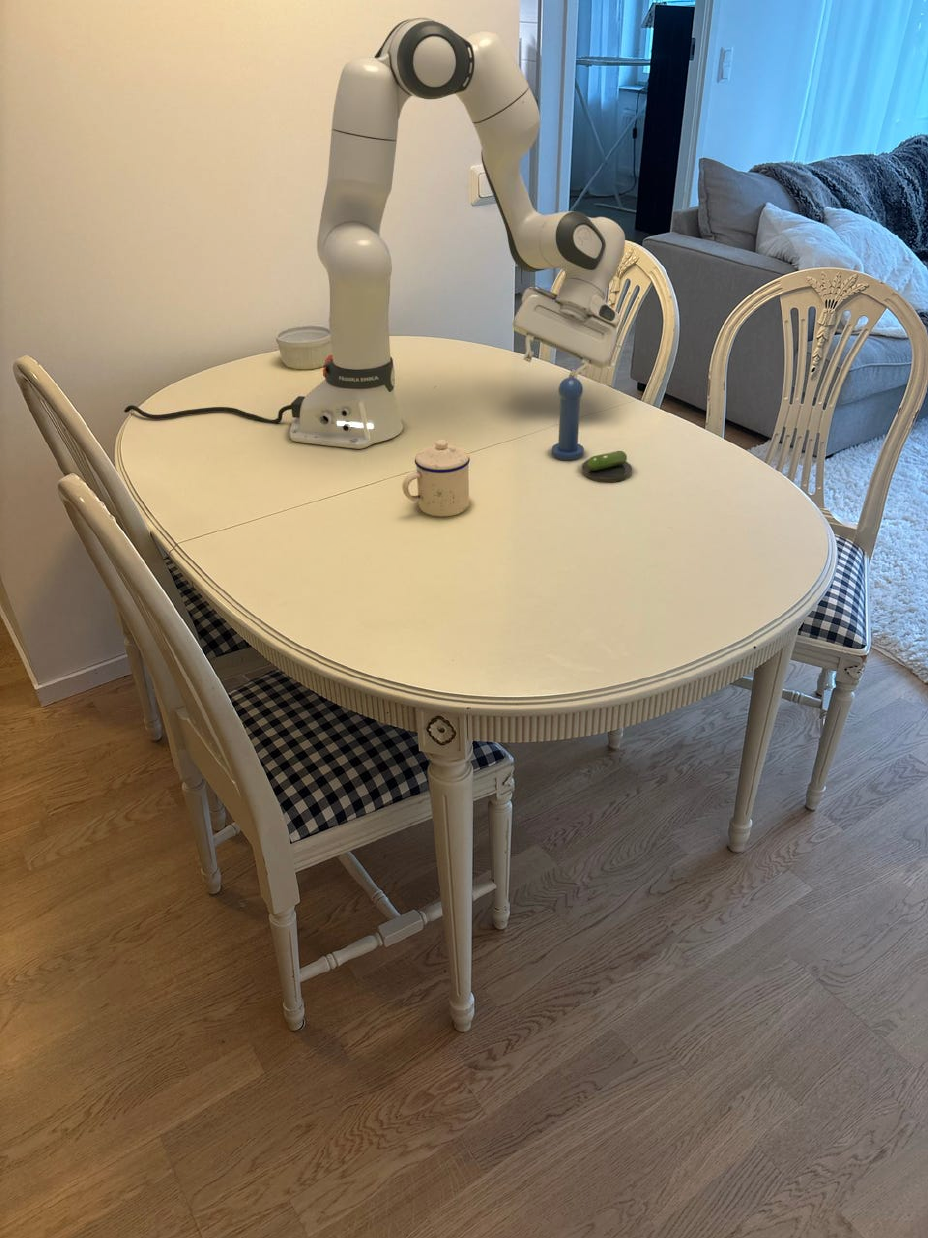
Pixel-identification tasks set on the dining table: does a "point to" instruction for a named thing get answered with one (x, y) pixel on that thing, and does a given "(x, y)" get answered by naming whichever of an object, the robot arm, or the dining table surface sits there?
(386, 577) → the dining table surface
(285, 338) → the ramekin
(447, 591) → the dining table surface
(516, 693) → the dining table surface
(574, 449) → the blue handle
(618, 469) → the pickle
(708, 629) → the dining table surface
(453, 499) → the teacup with lid
